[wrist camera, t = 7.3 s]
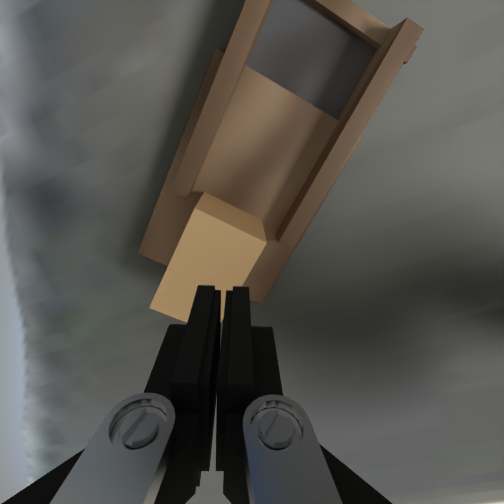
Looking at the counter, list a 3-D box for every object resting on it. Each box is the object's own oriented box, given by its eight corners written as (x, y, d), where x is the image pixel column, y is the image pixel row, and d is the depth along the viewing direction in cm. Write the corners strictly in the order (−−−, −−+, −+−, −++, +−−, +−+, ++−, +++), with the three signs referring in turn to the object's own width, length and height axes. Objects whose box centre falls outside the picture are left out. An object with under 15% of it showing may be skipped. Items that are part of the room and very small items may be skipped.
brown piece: (408, 50, 20) (435, 37, 17) (260, 298, 27) (262, 318, 24) (257, -55, 17) (261, -89, 15) (141, 248, 25) (128, 263, 22)
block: (261, 220, 23) (266, 242, 18) (219, 297, 26) (214, 333, 21) (204, 191, 22) (194, 208, 17) (166, 274, 25) (149, 308, 20)
